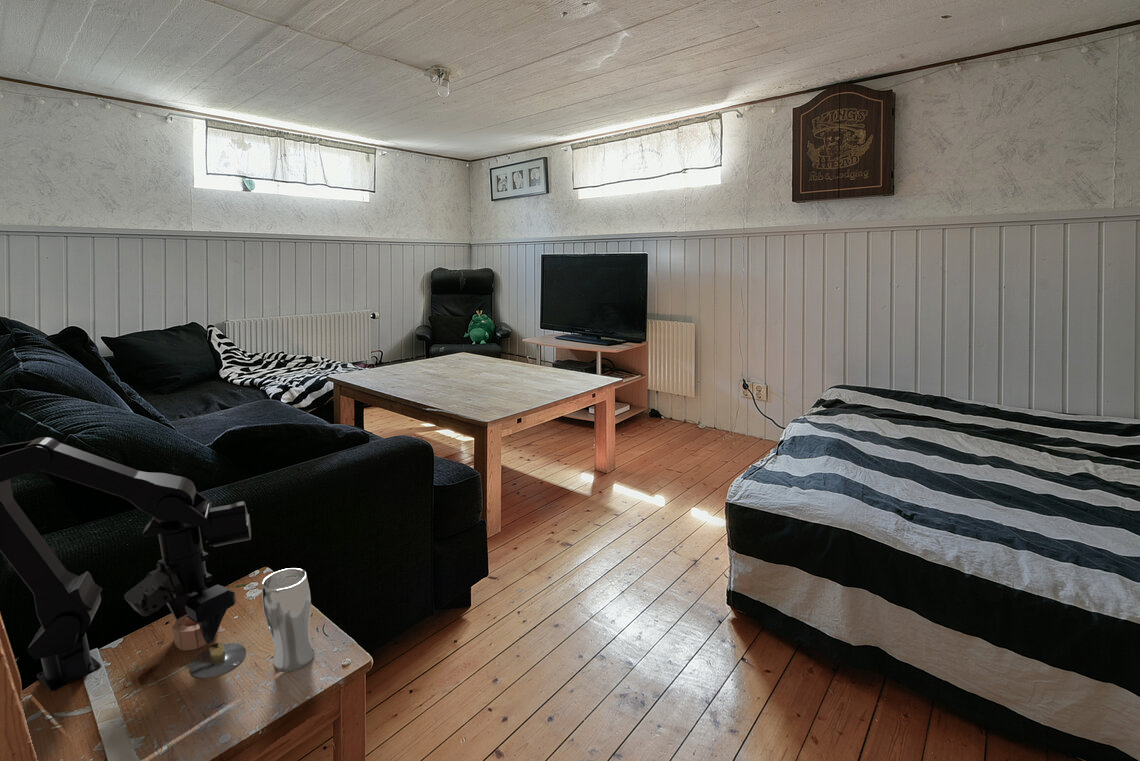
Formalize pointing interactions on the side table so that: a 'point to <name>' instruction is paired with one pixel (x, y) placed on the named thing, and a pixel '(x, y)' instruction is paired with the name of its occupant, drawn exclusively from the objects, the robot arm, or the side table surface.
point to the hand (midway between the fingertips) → (195, 632)
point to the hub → (217, 660)
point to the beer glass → (288, 617)
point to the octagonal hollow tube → (187, 634)
